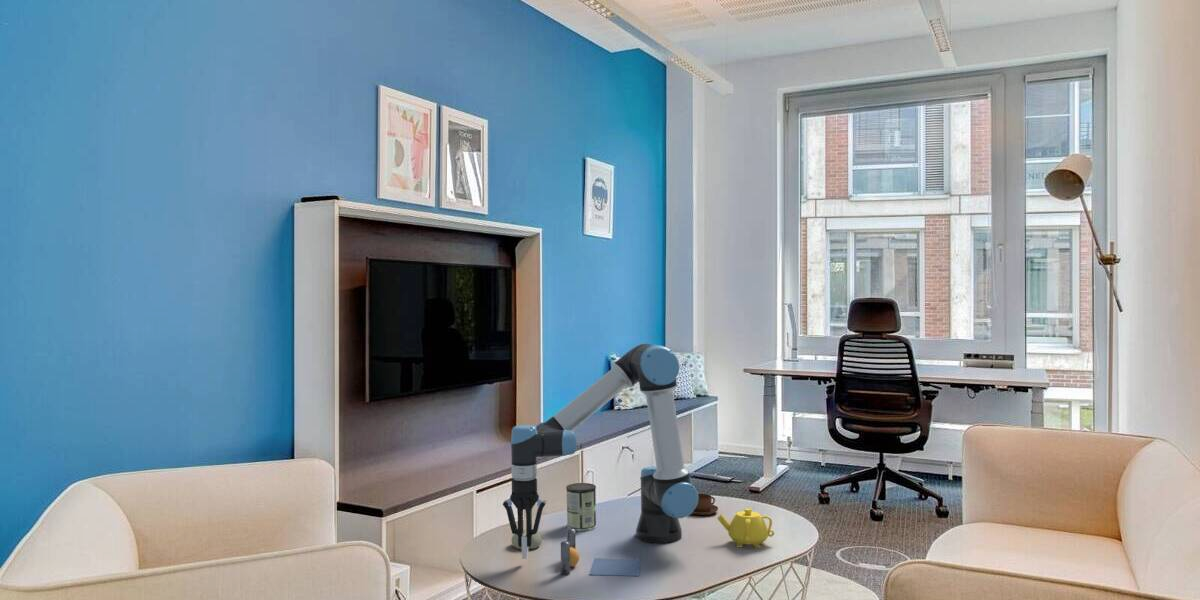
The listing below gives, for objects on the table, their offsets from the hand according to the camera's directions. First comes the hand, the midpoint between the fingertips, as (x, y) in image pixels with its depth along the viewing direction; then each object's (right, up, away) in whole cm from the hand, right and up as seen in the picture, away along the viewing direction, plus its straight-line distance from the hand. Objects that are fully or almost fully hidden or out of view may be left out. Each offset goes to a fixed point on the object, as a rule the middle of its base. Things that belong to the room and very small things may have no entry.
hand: (525, 557), depth 234 cm
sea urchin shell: (-1, -3, +18) cm, 18 cm away
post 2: (+14, -2, +5) cm, 15 cm away
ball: (+13, 0, -2) cm, 14 cm away
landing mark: (+27, -2, -3) cm, 27 cm away
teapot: (+69, -2, +19) cm, 72 cm away
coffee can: (+16, -2, +39) cm, 42 cm away
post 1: (+12, -2, -8) cm, 15 cm away
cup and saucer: (+60, -2, +55) cm, 82 cm away
